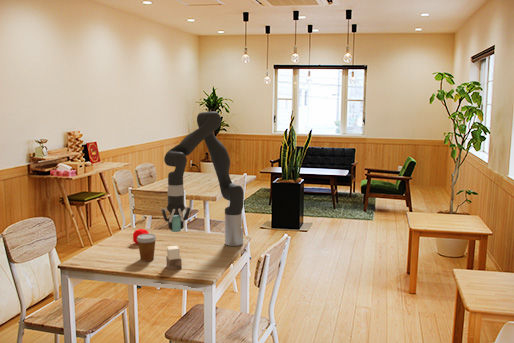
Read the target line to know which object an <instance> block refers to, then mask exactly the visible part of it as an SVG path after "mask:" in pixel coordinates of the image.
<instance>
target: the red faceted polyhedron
mask: <svg viewBox="0 0 514 343" xmlns="http://www.w3.org/2000/svg"><path fill="white" fill-rule="evenodd" d="M141 234H150V232H149V231H148V230H146V229H144V228H139V229H136V230H134V232H133V233H132V242H133V243H134V244H136V245H138V241H137V237H138V236H139V235H141Z"/></svg>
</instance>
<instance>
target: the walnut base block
mask: <svg viewBox="0 0 514 343" xmlns="http://www.w3.org/2000/svg"><path fill="white" fill-rule="evenodd" d="M166 267H167V270H168V271H174V270H175V271H176V270H182V257H180V259H173V260H169V259H168V257H167V255H166Z"/></svg>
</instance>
